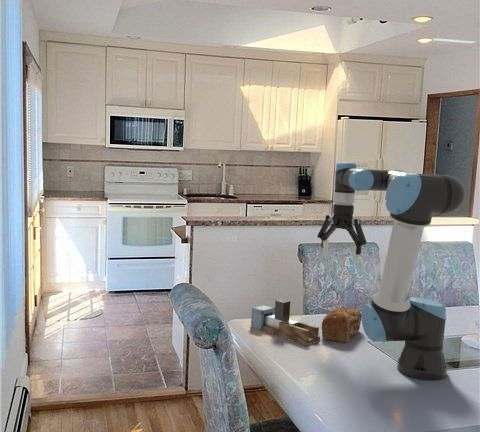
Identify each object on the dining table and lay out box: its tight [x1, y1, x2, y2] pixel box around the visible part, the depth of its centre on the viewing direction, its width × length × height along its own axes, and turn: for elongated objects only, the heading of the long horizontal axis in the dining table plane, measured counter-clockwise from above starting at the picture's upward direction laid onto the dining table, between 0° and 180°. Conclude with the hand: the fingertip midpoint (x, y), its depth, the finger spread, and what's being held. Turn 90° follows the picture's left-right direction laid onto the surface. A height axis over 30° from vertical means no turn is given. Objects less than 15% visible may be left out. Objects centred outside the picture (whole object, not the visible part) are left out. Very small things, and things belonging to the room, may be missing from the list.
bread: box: [321, 306, 362, 344], centre depth 213 cm, size 19×11×10 cm, turn 152°
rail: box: [260, 318, 321, 346], centre depth 212 cm, size 27×8×5 cm, turn 47°
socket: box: [250, 304, 275, 331], centre depth 219 cm, size 5×8×8 cm, turn 137°
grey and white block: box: [263, 298, 300, 329], centre depth 213 cm, size 16×4×11 cm, turn 47°
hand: (339, 260), depth 211 cm, fingers open, 13 cm apart
